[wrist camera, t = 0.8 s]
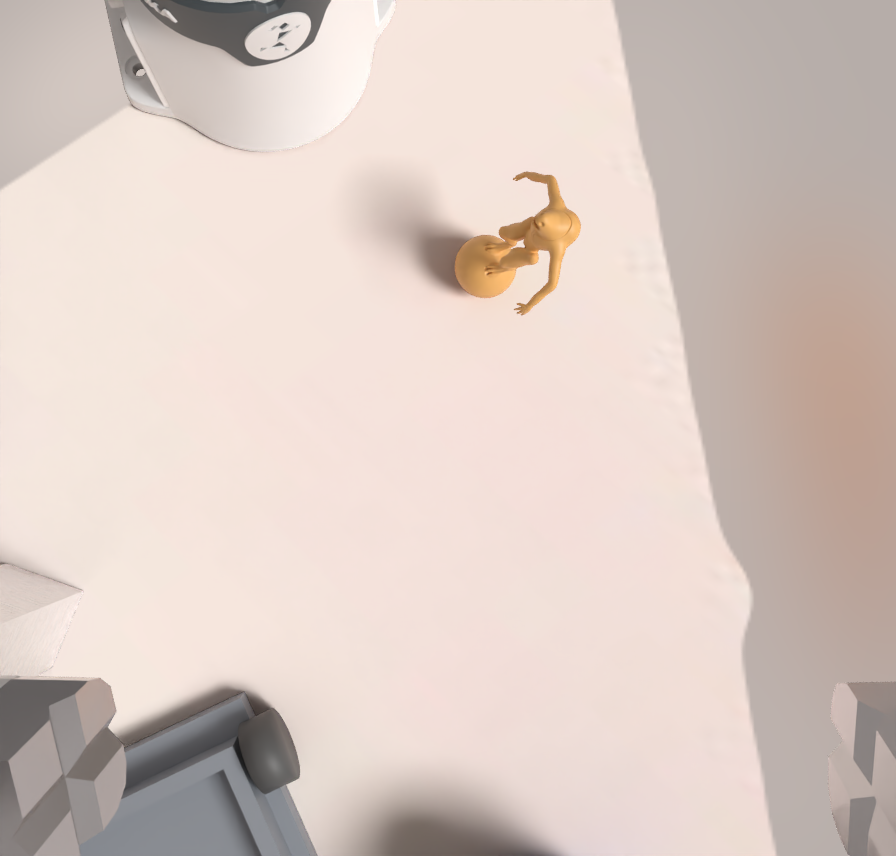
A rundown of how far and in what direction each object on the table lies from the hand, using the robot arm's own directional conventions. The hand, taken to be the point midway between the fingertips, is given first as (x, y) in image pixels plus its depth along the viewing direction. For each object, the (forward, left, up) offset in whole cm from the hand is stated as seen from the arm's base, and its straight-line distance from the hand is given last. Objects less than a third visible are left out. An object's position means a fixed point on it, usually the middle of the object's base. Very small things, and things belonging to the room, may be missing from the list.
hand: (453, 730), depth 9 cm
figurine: (-12, +13, -43) cm, 47 cm away
